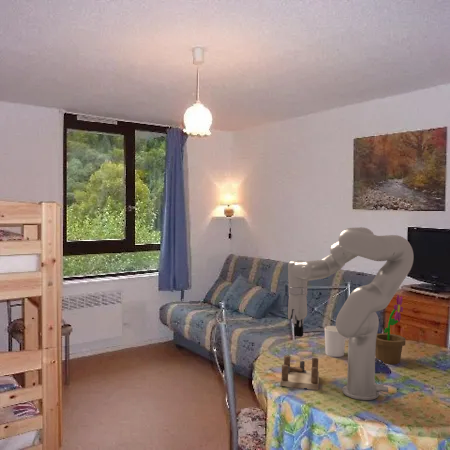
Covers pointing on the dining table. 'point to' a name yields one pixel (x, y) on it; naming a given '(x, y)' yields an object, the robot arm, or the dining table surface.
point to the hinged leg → (295, 369)
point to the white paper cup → (334, 342)
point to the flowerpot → (390, 339)
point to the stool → (301, 377)
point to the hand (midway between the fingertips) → (298, 335)
